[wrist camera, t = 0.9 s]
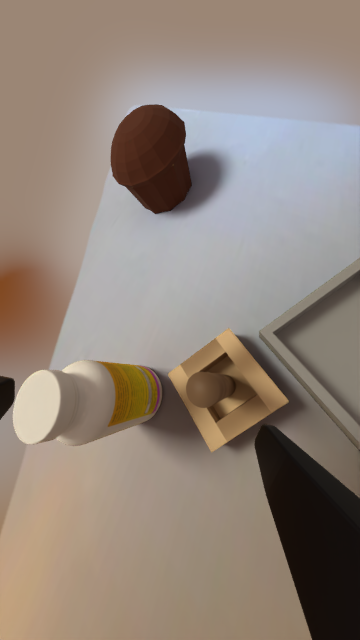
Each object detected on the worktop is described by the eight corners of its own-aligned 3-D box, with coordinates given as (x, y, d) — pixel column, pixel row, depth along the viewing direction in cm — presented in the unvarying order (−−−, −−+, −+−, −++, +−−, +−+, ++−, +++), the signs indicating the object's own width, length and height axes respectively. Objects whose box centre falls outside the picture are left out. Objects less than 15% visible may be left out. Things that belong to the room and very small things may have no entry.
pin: (240, 388, 20) (226, 395, 12) (222, 400, 20) (198, 415, 12) (227, 370, 21) (205, 364, 13) (210, 382, 21) (180, 383, 13)
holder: (285, 398, 19) (289, 401, 16) (218, 442, 20) (211, 452, 17) (232, 334, 22) (228, 327, 20) (178, 374, 23) (167, 374, 21)
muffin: (164, 231, 31) (124, 170, 22) (126, 207, 36) (81, 149, 27) (214, 171, 30) (195, 84, 21) (169, 155, 35) (138, 79, 26)
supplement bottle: (147, 355, 26) (56, 336, 14) (174, 401, 23) (86, 423, 11) (111, 386, 26) (-3, 391, 15) (132, 433, 24) (10, 485, 12)
